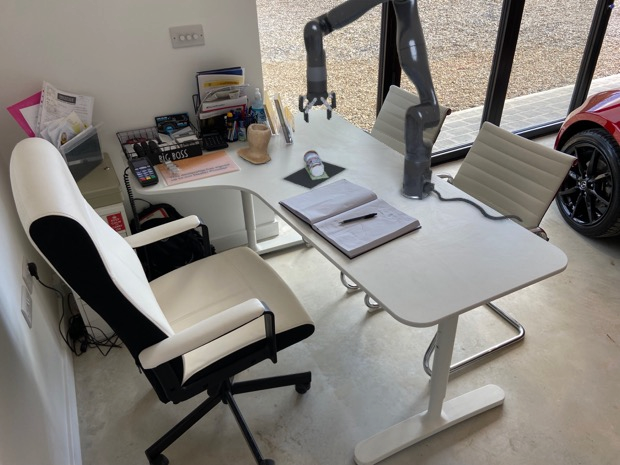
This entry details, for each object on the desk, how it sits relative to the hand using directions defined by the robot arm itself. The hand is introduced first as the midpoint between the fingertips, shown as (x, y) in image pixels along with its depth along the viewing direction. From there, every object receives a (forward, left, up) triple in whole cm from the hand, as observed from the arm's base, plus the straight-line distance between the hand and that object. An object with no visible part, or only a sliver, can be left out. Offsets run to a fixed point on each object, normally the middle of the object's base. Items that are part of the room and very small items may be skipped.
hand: (317, 120), depth 189 cm
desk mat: (-1, +3, -21) cm, 21 cm away
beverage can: (+5, -1, -17) cm, 18 cm away
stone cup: (+29, +6, -21) cm, 37 cm away
